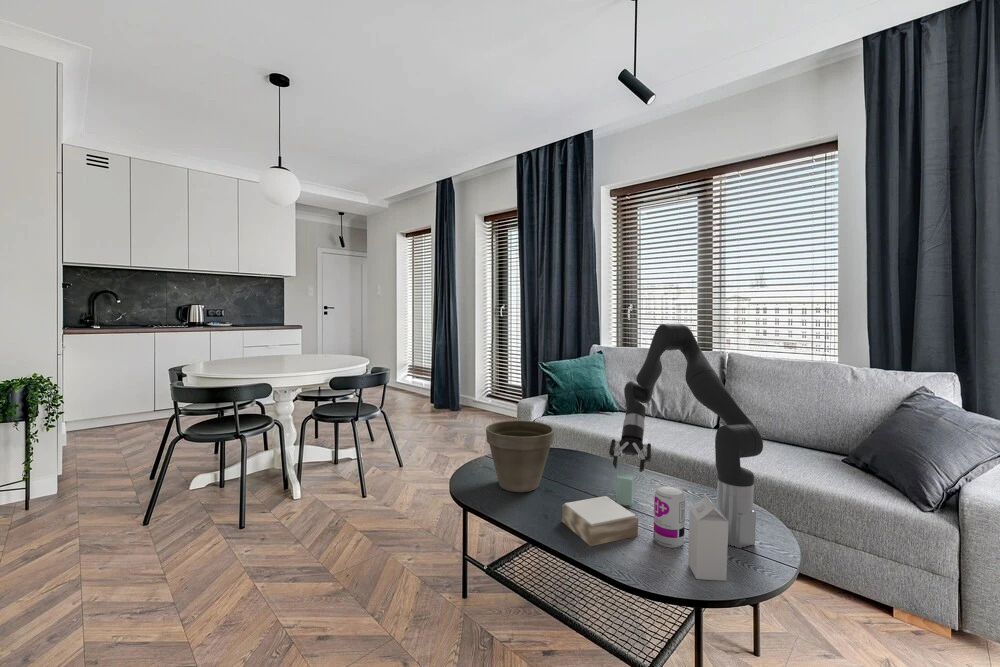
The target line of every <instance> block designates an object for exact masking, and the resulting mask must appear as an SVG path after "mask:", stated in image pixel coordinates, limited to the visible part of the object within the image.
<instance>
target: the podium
mask: <svg viewBox="0 0 1000 667" xmlns="http://www.w3.org/2000/svg"><path fill="white" fill-rule="evenodd" d="M561 508H562V510H561V513H562V514H561V516H562V518H561V522H562V523H563V524H564V525H565V526H566V527H568V528H569V529H570V530H571V531H572V532H573V533H574V534H576V535H577V536H578V537H579V538H580V539H581V540H583V542H585V543H586V544H588V546H589V547H593V546H598V545H601V544H602V545H603V544H607V543H611V542H615V541H620V540H624V539H628V538H629V539H630V538H635V537H638V535H639V517H638V516H637V515H636V514H635V513H633V512H632V511H630V510H628V509H627V508H625V507H624V506H623V505H621V504H618V503H616V501H615V500H613V499H611V498H610V497H609V496H607V495H603V496H597V497H592V498H587V499H582V500H576V501H571V502H570V501H569V502H564V504H562V507H561Z"/></svg>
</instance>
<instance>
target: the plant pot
mask: <svg viewBox="0 0 1000 667" xmlns="http://www.w3.org/2000/svg"><path fill="white" fill-rule="evenodd" d="M485 432H486V435H485V436H486V442H487V444H489V448H490V452H491V456H492V457H491V458H492V461H493V464H494V469H495V473H496V478H497V480H498V484H499V486H500V488H501V489H503V490H505V491H509V492H513V493H528V492H532V490H533V491H535V490H536V489H538V488H539V486H540V483H541V481H542V480H541V479H542V477H543V473H544V469H545V466H546V463H547V460H548V456H549V453H550V448H551V446H552V445H553V443H554V436H555V429H554V427H552V426H551V425H549V424H548V423H547V424H546V423H543V422H539V421H531V420H504V421H503V420H502V421H498V422H494V423H491V424H489V425H487V426H486V427H485Z"/></svg>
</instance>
